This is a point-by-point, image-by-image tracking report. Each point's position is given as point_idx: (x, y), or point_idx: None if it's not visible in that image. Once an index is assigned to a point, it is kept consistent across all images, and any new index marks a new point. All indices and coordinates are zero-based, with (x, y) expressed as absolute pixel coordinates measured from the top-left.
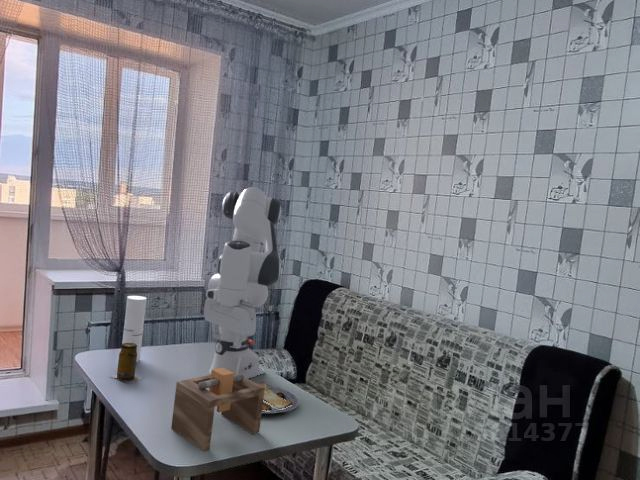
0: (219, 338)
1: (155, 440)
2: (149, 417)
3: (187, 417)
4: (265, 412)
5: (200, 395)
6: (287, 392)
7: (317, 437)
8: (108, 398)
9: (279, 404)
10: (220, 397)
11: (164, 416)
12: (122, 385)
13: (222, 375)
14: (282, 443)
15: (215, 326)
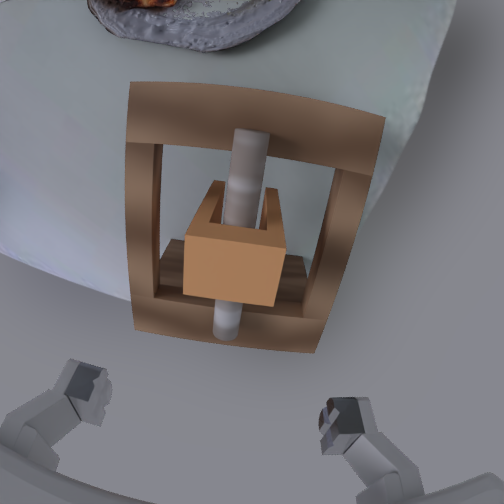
0: (105, 376)
1: None
2: (104, 253)
3: None
4: (275, 10)
5: (266, 349)
6: None
7: (443, 35)
8: (14, 258)
9: None
10: (321, 320)
11: (112, 227)
12: None
13: (269, 305)
14: (408, 115)
15: (55, 458)
